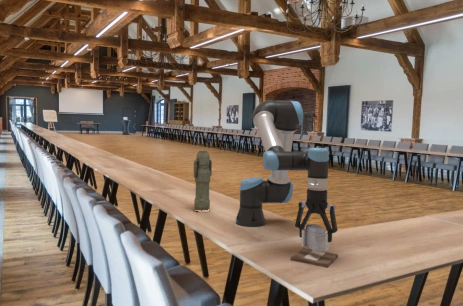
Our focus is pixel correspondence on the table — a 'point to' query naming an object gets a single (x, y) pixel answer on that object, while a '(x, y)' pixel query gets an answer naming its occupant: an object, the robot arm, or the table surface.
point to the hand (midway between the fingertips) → (315, 248)
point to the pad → (314, 257)
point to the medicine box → (315, 237)
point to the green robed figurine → (202, 180)
